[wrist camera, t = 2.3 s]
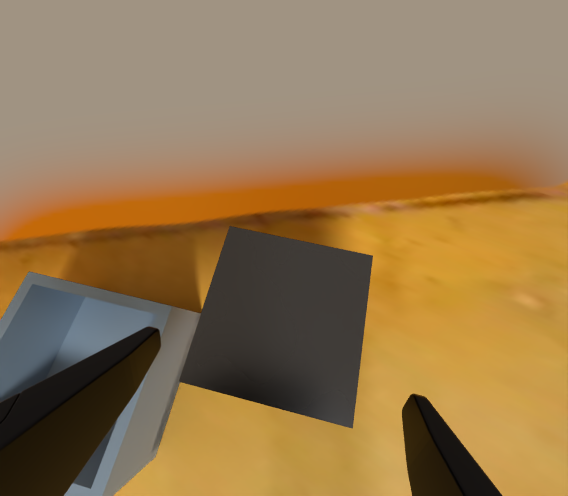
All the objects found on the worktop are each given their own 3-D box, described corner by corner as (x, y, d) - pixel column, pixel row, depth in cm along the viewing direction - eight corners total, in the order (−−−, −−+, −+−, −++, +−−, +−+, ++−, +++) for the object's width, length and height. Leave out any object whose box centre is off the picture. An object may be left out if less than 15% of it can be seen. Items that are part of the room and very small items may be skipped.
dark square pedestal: (314, 375, 17) (385, 482, 5) (243, 357, 17) (133, 410, 5) (326, 302, 18) (404, 235, 6) (261, 287, 19) (212, 197, 7)
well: (155, 456, 15) (97, 510, 11) (29, 418, 16) (-77, 453, 11) (202, 313, 18) (172, 306, 14) (93, 287, 19) (28, 271, 14)
